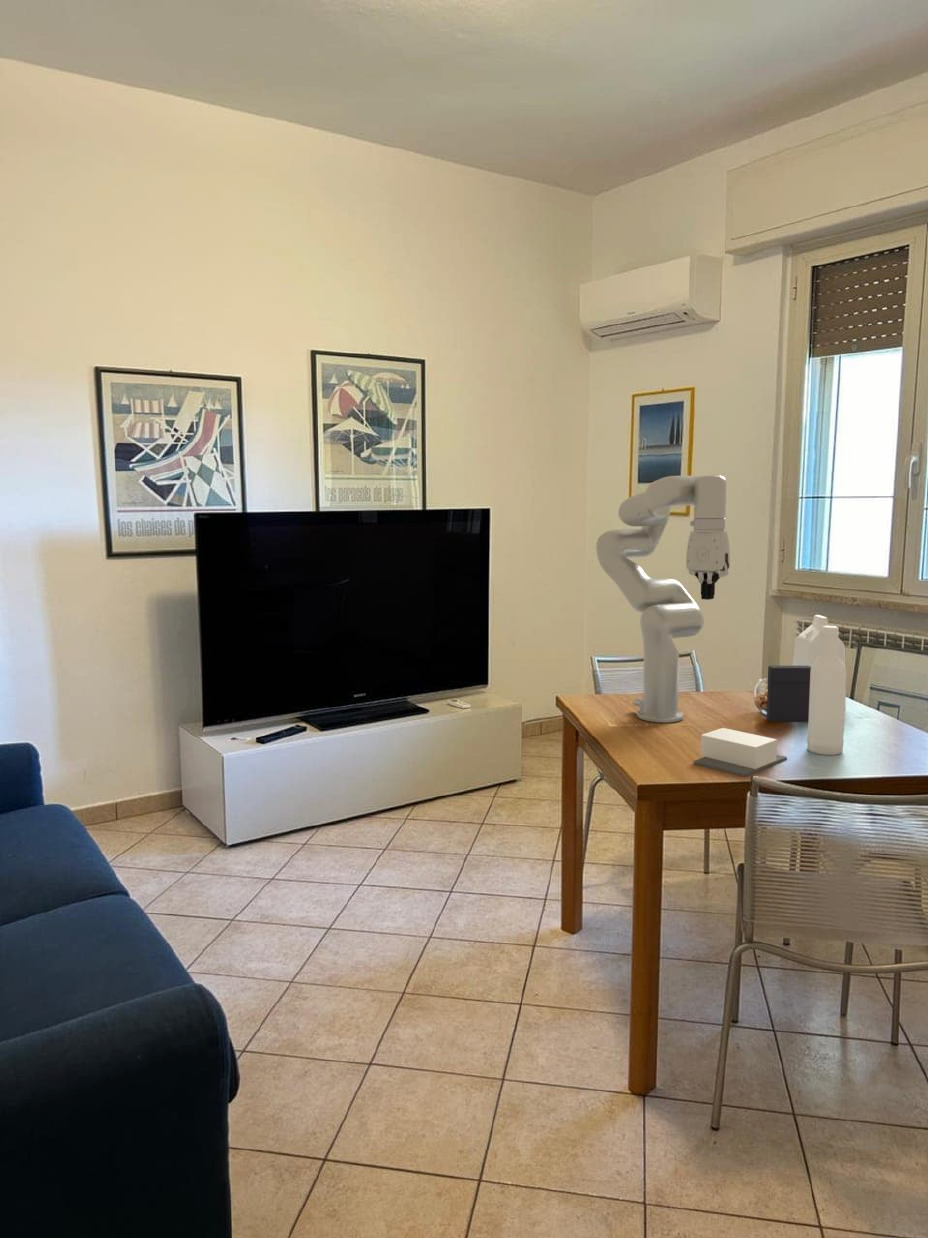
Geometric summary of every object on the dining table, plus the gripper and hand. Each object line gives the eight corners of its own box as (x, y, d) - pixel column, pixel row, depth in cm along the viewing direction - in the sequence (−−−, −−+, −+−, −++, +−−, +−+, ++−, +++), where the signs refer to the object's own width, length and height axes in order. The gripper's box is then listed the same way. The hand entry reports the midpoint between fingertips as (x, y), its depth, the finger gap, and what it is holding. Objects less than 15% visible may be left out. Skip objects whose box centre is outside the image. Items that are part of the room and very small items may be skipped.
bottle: (799, 748, 206) (804, 625, 202) (823, 744, 209) (829, 623, 205) (825, 757, 199) (831, 630, 195) (850, 752, 202) (856, 627, 198)
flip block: (701, 734, 199) (756, 747, 188) (722, 727, 204) (777, 739, 194) (700, 755, 199) (755, 769, 189) (722, 748, 205) (776, 761, 195)
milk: (845, 709, 244) (849, 619, 240) (805, 709, 244) (808, 619, 240) (828, 699, 255) (832, 613, 252) (789, 700, 256) (792, 613, 252)
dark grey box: (806, 718, 234) (809, 665, 232) (811, 722, 229) (814, 668, 227) (765, 718, 235) (767, 664, 233) (769, 722, 230) (771, 667, 228)
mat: (693, 763, 196) (693, 761, 196) (736, 747, 207) (736, 745, 207) (744, 776, 186) (744, 774, 186) (786, 759, 198) (786, 757, 198)
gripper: (675, 525, 216) (673, 598, 218) (727, 526, 204) (725, 602, 207) (692, 525, 221) (690, 595, 223) (744, 525, 209) (742, 600, 212)
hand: (707, 598), depth 215 cm, fingers closed
